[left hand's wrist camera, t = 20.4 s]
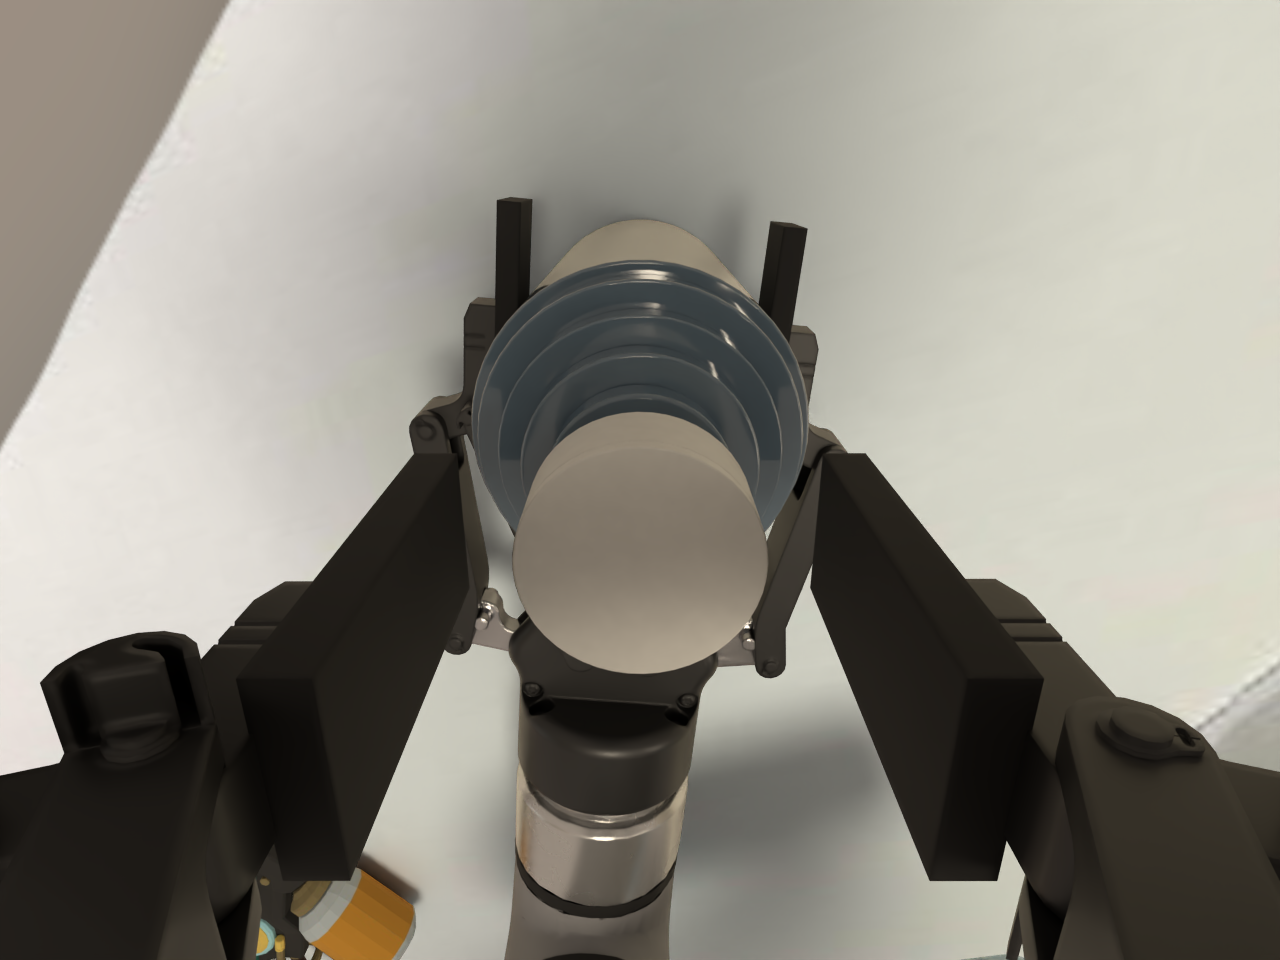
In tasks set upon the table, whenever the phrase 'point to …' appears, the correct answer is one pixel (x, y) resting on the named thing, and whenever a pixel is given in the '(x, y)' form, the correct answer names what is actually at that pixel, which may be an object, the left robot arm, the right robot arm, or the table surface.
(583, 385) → the bottle
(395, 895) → the spray gun
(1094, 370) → the table surface
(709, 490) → the cap
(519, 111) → the table surface
